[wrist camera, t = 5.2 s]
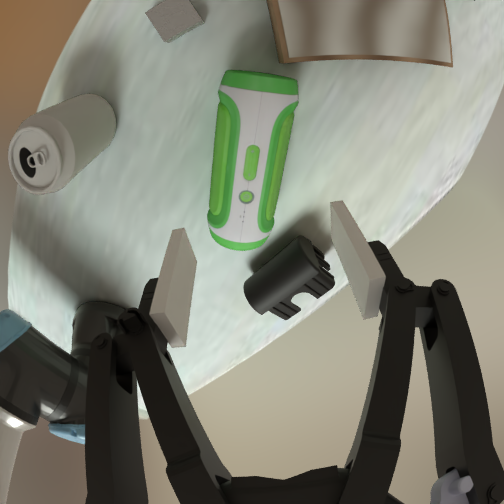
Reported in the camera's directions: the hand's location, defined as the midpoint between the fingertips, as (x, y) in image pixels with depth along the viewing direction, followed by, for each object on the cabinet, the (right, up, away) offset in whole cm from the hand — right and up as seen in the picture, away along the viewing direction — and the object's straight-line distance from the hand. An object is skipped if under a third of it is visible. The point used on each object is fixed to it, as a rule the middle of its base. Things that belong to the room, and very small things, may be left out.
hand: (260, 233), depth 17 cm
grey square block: (-8, +22, +3) cm, 24 cm away
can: (-19, +14, +9) cm, 25 cm away
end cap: (+4, -2, +23) cm, 24 cm away
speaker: (-1, +10, +13) cm, 17 cm away
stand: (+10, +25, +2) cm, 27 cm away
